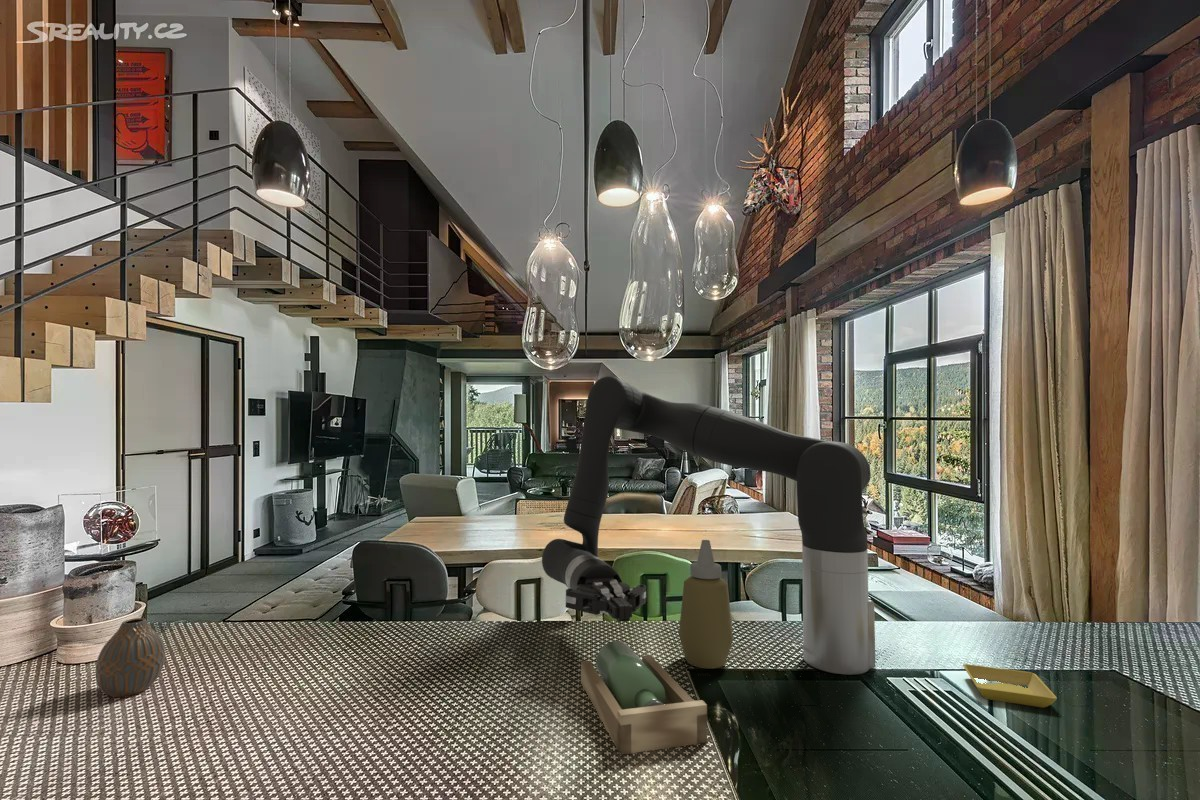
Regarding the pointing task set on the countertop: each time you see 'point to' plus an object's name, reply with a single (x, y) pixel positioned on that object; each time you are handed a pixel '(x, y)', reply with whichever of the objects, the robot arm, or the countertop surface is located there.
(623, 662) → the bottle
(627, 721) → the u rest
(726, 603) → the squeeze bottle
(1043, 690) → the yellow shallow square tray
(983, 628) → the countertop surface
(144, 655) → the vase
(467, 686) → the countertop surface
